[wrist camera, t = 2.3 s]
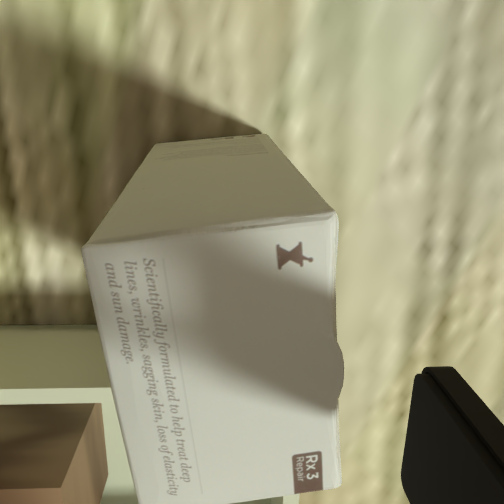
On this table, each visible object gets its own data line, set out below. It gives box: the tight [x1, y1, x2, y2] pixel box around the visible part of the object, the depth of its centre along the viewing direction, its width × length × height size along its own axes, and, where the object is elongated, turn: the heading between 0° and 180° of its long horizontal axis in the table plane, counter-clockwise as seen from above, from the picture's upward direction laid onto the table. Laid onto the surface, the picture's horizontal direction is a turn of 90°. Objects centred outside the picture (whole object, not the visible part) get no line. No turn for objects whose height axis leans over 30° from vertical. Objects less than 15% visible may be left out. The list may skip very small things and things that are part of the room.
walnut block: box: [0, 403, 108, 504], centre depth 25 cm, size 6×6×7 cm
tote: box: [0, 325, 299, 504], centre depth 26 cm, size 20×14×6 cm
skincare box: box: [81, 134, 344, 504], centre depth 18 cm, size 8×6×15 cm
